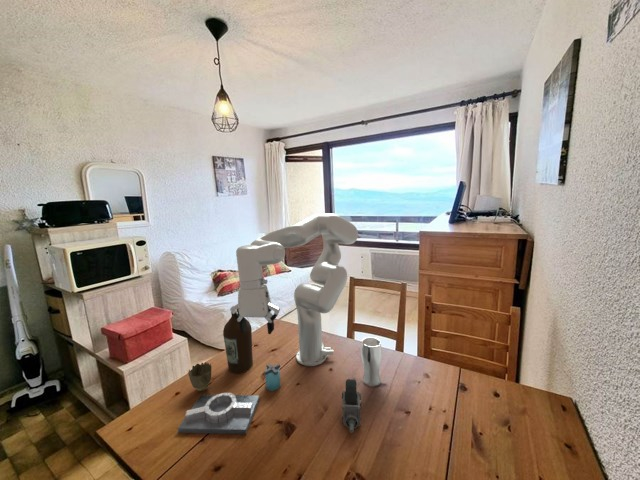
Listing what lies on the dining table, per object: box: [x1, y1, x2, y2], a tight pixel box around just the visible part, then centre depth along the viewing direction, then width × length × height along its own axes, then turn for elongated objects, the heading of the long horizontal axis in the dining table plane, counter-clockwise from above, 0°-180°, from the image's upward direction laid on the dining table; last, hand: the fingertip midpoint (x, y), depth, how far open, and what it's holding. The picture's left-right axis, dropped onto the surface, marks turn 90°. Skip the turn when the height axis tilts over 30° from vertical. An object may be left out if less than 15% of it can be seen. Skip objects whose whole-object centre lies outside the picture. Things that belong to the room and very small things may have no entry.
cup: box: [187, 362, 212, 393], centre depth 92 cm, size 8×7×8 cm
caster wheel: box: [341, 378, 362, 434], centre depth 77 cm, size 6×10×15 cm
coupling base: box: [177, 392, 260, 435], centre depth 80 cm, size 20×13×4 cm, turn 86°
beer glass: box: [361, 336, 383, 387], centre depth 92 cm, size 7×7×15 cm
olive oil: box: [222, 305, 254, 374], centre depth 103 cm, size 11×11×25 cm
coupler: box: [263, 363, 281, 392], centre depth 92 cm, size 5×5×7 cm
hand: (257, 331), depth 88 cm, fingers open, 9 cm apart
